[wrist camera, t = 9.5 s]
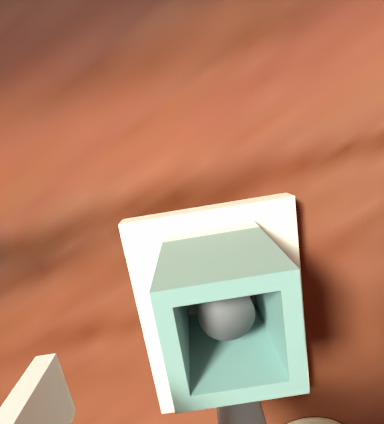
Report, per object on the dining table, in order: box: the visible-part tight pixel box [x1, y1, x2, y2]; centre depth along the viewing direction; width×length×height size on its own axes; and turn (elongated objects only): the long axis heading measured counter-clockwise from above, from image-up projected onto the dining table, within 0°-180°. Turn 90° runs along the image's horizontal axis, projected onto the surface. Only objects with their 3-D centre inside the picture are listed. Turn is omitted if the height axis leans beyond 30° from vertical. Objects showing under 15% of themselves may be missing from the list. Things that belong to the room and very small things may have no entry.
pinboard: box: [118, 193, 310, 424], centre depth 18 cm, size 16×12×8 cm
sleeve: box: [149, 219, 309, 414], centre depth 15 cm, size 6×6×8 cm
